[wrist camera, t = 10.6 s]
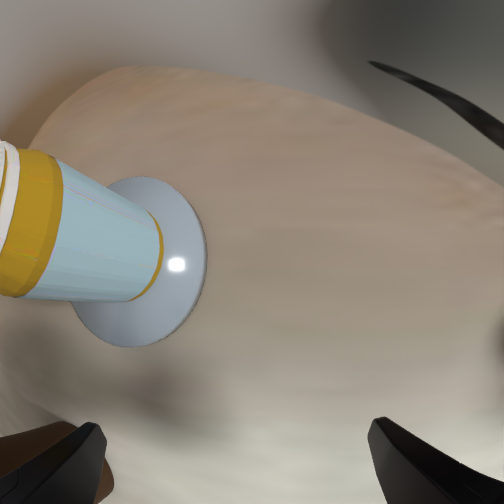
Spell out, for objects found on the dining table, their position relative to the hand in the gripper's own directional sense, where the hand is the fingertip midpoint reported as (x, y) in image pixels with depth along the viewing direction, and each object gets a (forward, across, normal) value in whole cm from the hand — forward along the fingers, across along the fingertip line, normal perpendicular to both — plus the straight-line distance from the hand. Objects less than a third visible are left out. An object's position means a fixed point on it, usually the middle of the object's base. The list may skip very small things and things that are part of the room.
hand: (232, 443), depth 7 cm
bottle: (+14, +8, -3) cm, 16 cm away
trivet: (+15, +8, -2) cm, 17 cm away
